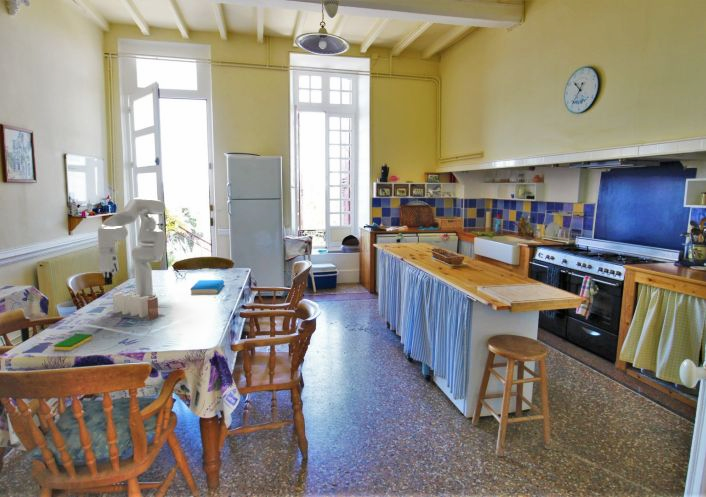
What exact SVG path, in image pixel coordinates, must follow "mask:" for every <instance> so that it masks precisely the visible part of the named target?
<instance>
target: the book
mask: <svg viewBox="0 0 706 497" xmlns="http://www.w3.org/2000/svg"><path fill="white" fill-rule="evenodd" d="M224 285H225V281H224V279H204V280H203V279H202V280H201V279H200V280H198V281H197V282H196V283H195V284H194V285H193V286H192V287H191V288H190V293H191V294H190V295H211V294H212V295H213V294H214V295H215V294H216V295H217V294H218V293H219V292H220V291H221V290H222V288H223V287H224Z"/></svg>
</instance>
